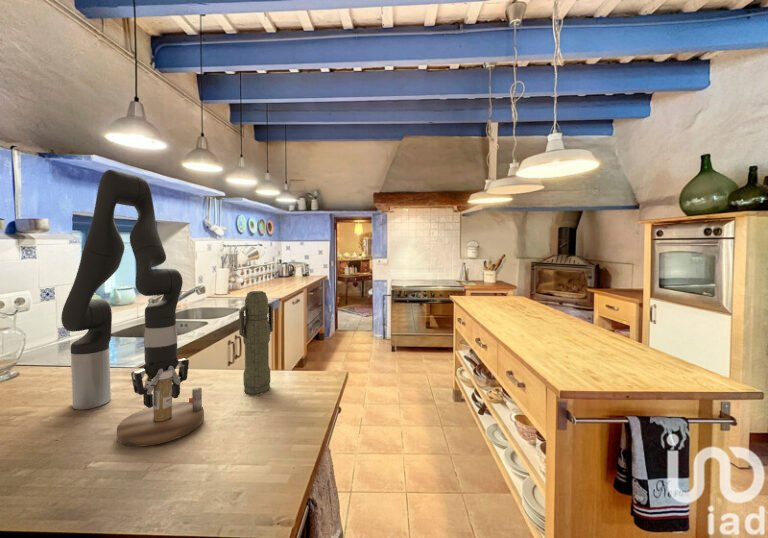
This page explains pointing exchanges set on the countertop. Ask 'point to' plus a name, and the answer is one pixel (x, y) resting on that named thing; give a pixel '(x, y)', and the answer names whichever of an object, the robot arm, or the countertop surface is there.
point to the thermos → (256, 341)
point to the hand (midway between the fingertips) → (162, 401)
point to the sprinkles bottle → (163, 397)
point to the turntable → (162, 423)
